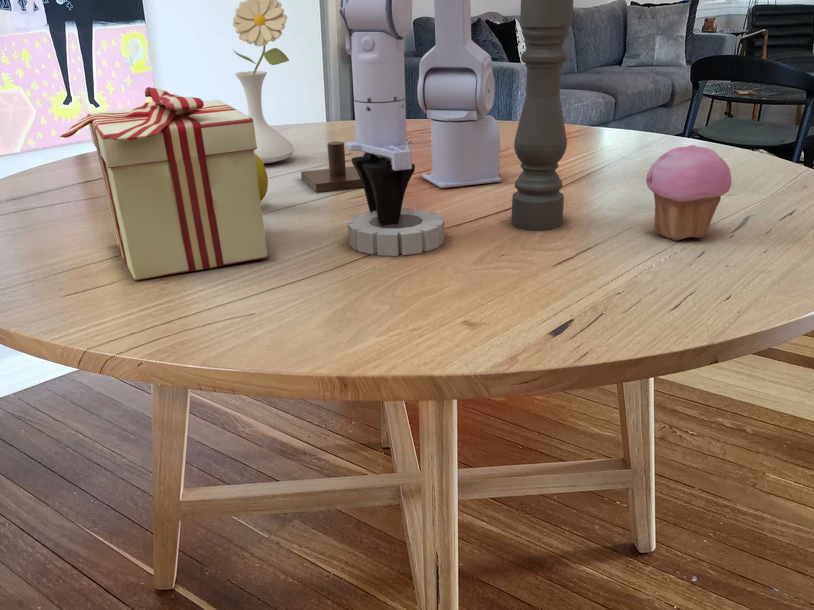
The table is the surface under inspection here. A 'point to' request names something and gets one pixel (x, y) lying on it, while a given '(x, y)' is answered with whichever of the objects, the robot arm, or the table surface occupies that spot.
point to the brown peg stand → (333, 172)
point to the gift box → (180, 183)
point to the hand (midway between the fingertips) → (384, 220)
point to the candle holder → (541, 116)
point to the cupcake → (687, 190)
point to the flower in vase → (260, 26)
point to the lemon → (261, 177)
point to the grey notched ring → (396, 233)
